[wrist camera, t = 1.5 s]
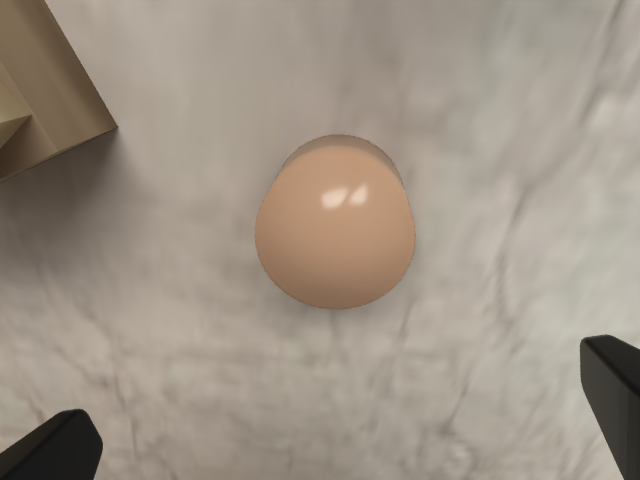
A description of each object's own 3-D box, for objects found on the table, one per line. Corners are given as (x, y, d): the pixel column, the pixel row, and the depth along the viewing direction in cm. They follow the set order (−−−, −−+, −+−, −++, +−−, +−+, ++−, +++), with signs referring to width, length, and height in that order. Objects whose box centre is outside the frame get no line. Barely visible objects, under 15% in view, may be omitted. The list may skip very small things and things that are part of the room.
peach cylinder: (391, 120, 17) (400, 145, 13) (413, 244, 19) (426, 295, 15) (259, 150, 18) (234, 181, 14) (293, 266, 20) (278, 319, 16)
